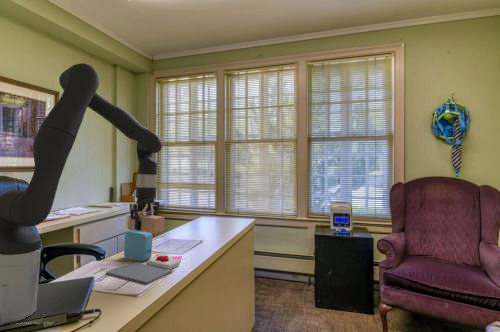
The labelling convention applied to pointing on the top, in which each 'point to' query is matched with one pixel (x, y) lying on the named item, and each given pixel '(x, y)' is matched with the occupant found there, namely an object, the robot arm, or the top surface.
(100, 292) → the top surface
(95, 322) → the top surface
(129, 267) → the mat
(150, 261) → the red push button
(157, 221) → the block
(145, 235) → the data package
